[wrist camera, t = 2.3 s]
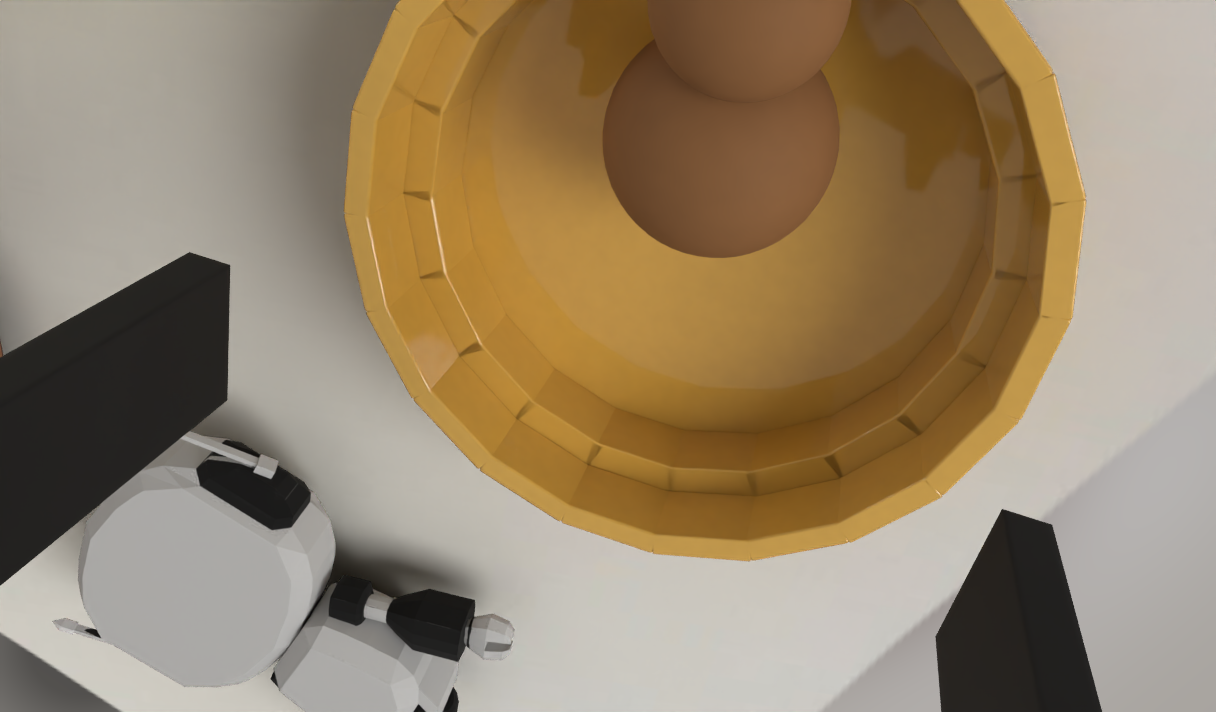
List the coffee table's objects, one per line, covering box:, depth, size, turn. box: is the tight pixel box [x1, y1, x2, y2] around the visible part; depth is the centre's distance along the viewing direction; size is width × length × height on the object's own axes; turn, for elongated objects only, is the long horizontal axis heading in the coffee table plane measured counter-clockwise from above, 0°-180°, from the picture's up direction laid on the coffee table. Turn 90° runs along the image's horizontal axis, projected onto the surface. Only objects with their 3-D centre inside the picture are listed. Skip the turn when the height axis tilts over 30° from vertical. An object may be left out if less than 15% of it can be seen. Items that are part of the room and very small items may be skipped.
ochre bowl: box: [344, 0, 1086, 561], centre depth 25 cm, size 17×17×5 cm
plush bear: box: [603, 0, 851, 258], centre depth 21 cm, size 6×6×10 cm
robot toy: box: [52, 431, 514, 712], centre depth 36 cm, size 12×4×15 cm
